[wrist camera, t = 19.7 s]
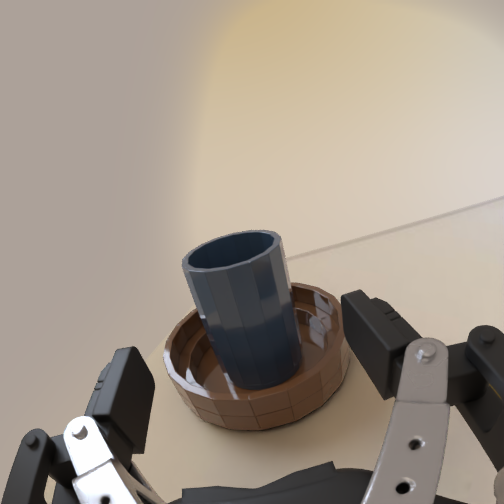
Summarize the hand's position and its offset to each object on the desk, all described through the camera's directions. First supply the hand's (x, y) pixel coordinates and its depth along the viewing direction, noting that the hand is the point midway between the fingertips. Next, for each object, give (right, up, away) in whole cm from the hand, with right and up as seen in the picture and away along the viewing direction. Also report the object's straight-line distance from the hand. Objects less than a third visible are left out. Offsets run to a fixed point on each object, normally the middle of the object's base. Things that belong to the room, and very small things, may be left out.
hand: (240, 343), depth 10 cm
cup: (+1, -6, +12) cm, 14 cm away
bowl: (+1, -6, +13) cm, 14 cm away
